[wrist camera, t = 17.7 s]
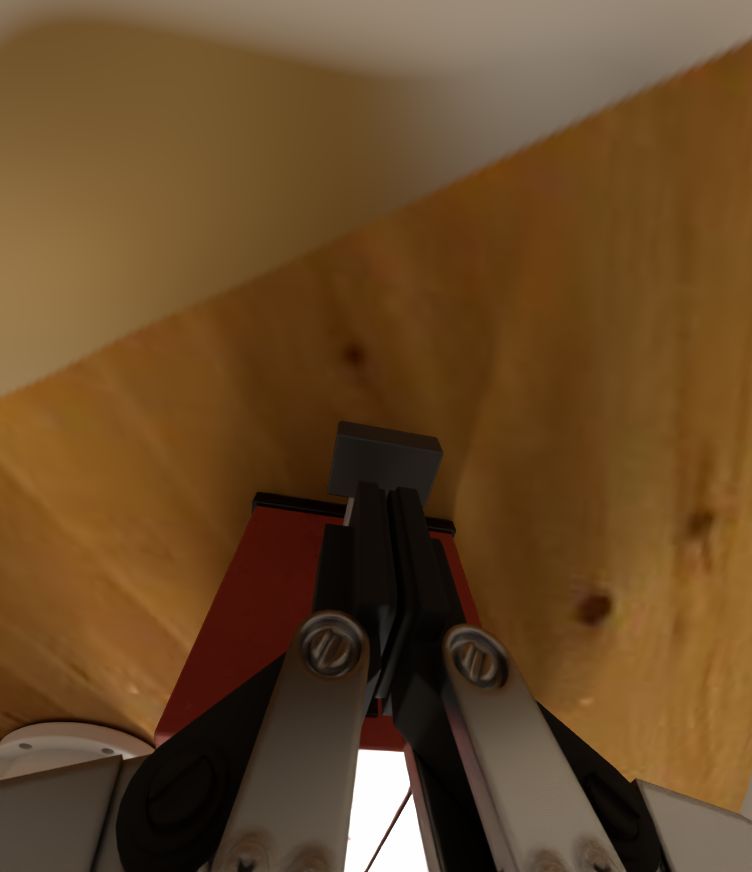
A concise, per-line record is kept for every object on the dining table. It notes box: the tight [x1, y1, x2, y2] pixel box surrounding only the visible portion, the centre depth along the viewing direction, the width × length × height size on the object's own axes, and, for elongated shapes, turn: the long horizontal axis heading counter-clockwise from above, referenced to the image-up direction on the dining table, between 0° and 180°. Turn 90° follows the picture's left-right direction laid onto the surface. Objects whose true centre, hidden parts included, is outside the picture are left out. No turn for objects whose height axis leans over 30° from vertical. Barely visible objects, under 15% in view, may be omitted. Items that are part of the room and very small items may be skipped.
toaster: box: [154, 492, 482, 872], centre depth 17 cm, size 10×16×10 cm, turn 168°
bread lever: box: [327, 421, 443, 526], centre depth 13 cm, size 4×6×1 cm, turn 168°
